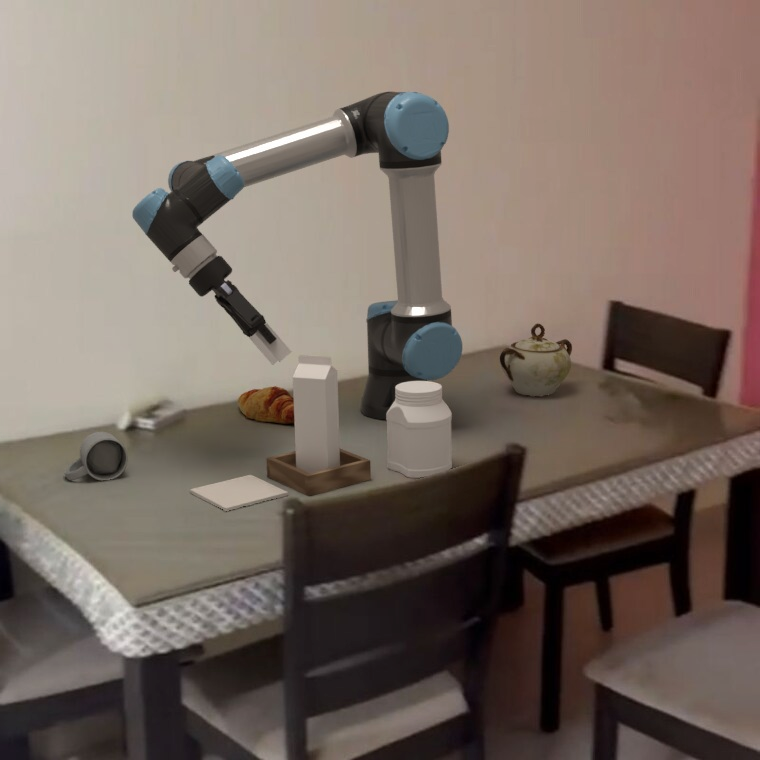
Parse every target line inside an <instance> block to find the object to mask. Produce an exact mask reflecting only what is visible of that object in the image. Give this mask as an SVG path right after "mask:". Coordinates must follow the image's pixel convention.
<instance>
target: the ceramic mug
mask: <svg viewBox="0 0 760 760" xmlns="http://www.w3.org/2000/svg"><path fill="white" fill-rule="evenodd" d="M128 457H129V456H128V451H127V449H126V446H125V445H124V444H123V443H122V442H121V441H120V440H119V439H117V437H116V436H114V435H113V434H111V433H109V432H105V431H94V432H91V434H89V435H87V436H86V437H85V438H84V439H83V441H82V443H81V444H80V449H79V458H78V459H75V461H73V462H71V463H70V464H69V465H68V466H66V467H65V469H64V471H63V473H64V476H65V477H66V479H67V480H68V481H75V480H79V479H80V478H83V477H85V476H86V475H89V476H90V477H92V478H93V479H94V480H97V481H102V482H104V481H103V480H108V481H111V480H110V479H112V480H114V479H117V478H118V477H120V476H121V475H122V474H123V473H124V471H125V470H126V468H127V466H128V462H129V458H128Z"/></svg>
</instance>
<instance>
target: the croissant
mask: <svg viewBox="0 0 760 760" xmlns="http://www.w3.org/2000/svg"><path fill="white" fill-rule="evenodd" d="M237 403H238V406H239V410H240V412H241V413H242V414H243V415H244V416H245V417H246V418H247V419H250V420H255V421H257V422H261V423H265V422H267V423H277V424H286V425H287V424H295V422H294V396H293V397H292V395H291V394H290V392H289V391H288V390H287V389H285V388H284V387H283V388H282V387H280V386H277V385H276V386H275V385H274V386H269V387H263V388H261V389H259V388H253V389H250V390H248V391H245V392H243V393H242V394H240V396H238V399H237Z"/></svg>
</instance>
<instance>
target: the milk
mask: <svg viewBox="0 0 760 760" xmlns="http://www.w3.org/2000/svg"><path fill="white" fill-rule="evenodd" d="M297 357H298V365H297V366H296V369H295V371H294V373H293V375H292V387H293V389H292V391H293V393H292V394H293V398H294V422H295V423H294V440H295V443H294V444H295V445H294V446H295V451H296V468H298V469H300V470H303V471H305V472H307V473H314V472H318V471H322V470H326V469H330V468H334V467H337V466H340V449H341V448H340V419H339V418H340V414H339V411H340V410H339V385H338V382H339V381H338V380H339V379H338V378H339V377H338V370H337V369H336V368H335V367H333V365H332V358H331V357H330V356H327V355H326V356H324V355H309V354H308V355H306V354H299V355H298V356H297Z"/></svg>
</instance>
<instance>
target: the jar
mask: <svg viewBox="0 0 760 760" xmlns="http://www.w3.org/2000/svg"><path fill="white" fill-rule="evenodd" d="M395 394H396V395H395V397H396V398H395V401H394V402H393V404H392V405H391V407H390V408H389V410H388V411H387V413H386V438H387V440H386V443H387V451H386V452H387V460H386V464H387V465H386V468H387V470H390V471H394V472H398V473H400V474H402V475H403V476H405V477H406V478H409V479H421V478H420V477H424V476H429V475H432V474H435V473H439V472H442V471H445V470H448V469H450V468H453V460H452V419H453V418H452V417H453V413H452V410H451V409H450V408H449V405H447V403H446V402H445V401H444V400H443V386H442V384H441V383H438V382H434V381H431V380H427V381H409V382H403V383H400V384H398V385H396V387H395Z"/></svg>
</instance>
